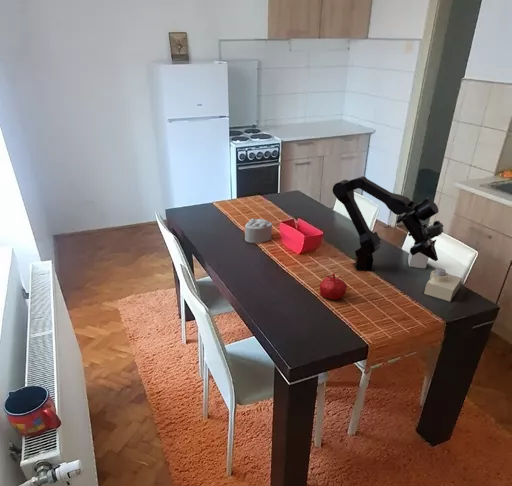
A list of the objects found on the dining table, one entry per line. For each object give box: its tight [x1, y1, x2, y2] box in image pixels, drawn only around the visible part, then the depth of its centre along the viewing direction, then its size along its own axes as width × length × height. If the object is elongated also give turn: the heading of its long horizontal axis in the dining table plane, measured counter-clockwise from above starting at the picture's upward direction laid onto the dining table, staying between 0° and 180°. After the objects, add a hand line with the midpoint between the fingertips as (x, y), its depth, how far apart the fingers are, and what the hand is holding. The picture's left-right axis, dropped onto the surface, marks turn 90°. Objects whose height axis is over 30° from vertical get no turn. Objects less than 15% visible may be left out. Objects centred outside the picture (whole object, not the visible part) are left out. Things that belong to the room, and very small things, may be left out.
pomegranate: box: [319, 272, 348, 301], centre depth 176 cm, size 10×10×9 cm
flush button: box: [435, 267, 447, 276], centre depth 182 cm, size 4×4×2 cm
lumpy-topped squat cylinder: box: [244, 218, 273, 244], centre depth 221 cm, size 10×13×9 cm
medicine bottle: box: [407, 243, 430, 269], centre depth 202 cm, size 7×7×12 cm
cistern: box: [424, 269, 463, 302], centre depth 183 cm, size 11×13×7 cm
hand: (436, 260), depth 181 cm, fingers closed
